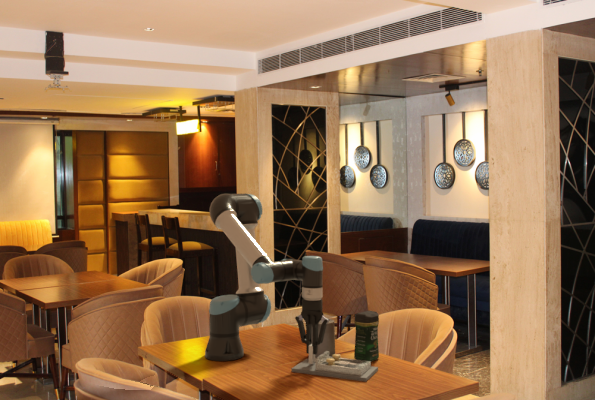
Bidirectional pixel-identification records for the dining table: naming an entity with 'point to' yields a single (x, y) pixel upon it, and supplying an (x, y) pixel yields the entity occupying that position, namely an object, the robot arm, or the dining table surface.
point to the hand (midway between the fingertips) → (311, 362)
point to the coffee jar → (366, 336)
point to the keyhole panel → (342, 365)
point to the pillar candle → (326, 339)
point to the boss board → (310, 369)
